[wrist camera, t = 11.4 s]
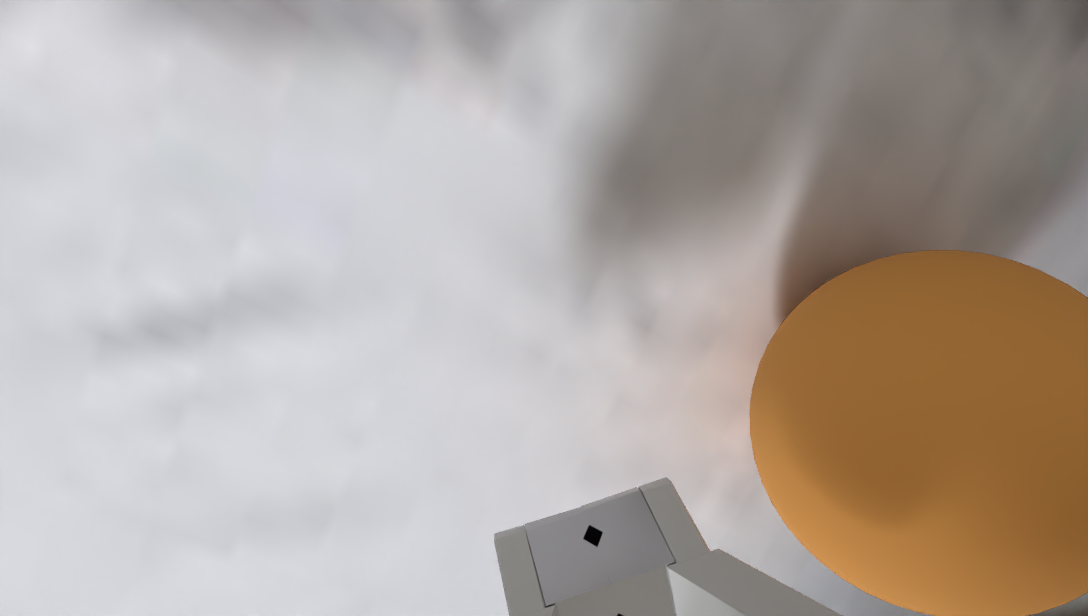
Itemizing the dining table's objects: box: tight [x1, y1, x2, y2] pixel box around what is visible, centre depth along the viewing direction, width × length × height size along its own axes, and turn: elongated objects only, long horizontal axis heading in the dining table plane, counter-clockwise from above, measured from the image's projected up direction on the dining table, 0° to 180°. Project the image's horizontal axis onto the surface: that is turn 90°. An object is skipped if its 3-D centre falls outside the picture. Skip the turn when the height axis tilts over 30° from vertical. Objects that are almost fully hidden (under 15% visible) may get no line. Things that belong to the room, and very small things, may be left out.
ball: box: [750, 250, 1088, 616], centre depth 12 cm, size 6×6×6 cm
